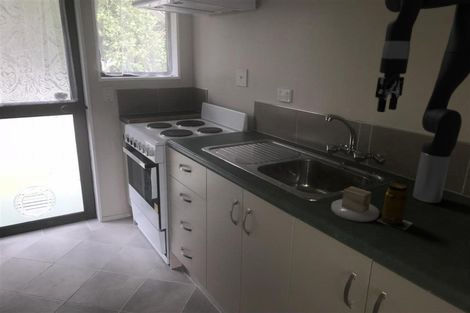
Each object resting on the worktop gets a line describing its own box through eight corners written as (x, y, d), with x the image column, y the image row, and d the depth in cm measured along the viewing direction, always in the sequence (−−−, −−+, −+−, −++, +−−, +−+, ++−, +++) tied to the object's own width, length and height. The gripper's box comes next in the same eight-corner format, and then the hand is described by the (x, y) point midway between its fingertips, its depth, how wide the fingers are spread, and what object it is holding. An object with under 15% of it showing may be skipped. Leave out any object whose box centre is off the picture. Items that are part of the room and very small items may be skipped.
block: (348, 202, 117) (351, 186, 116) (368, 209, 113) (371, 192, 111) (341, 206, 114) (343, 189, 112) (361, 213, 109) (364, 196, 108)
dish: (345, 198, 124) (345, 195, 124) (386, 212, 114) (387, 209, 113) (322, 210, 114) (322, 206, 113) (365, 226, 103) (366, 222, 103)
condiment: (385, 214, 112) (391, 180, 109) (412, 223, 107) (419, 187, 104) (376, 221, 107) (382, 185, 104) (404, 231, 102) (412, 193, 98)
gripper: (391, 57, 112) (384, 107, 116) (372, 56, 102) (364, 111, 106) (416, 58, 106) (407, 110, 111) (398, 57, 97) (389, 114, 101)
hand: (386, 110), depth 109 cm, fingers open, 8 cm apart
